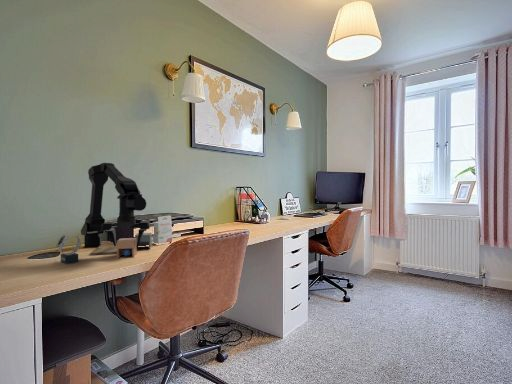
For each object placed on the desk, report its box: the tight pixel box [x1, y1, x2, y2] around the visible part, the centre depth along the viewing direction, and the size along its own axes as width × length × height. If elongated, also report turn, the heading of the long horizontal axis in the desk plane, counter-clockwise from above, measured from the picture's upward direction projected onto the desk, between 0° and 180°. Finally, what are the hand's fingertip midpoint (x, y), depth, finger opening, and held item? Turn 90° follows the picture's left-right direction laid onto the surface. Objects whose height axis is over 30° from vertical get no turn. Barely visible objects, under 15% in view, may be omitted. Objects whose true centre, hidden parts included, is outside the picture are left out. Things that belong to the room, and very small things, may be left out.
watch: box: [56, 233, 82, 265], centre depth 113 cm, size 6×8×11 cm
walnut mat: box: [89, 246, 117, 256], centre depth 131 cm, size 11×11×1 cm
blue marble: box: [123, 248, 132, 257], centre depth 124 cm, size 3×3×3 cm
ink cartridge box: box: [152, 215, 173, 244], centre depth 150 cm, size 9×5×15 cm, turn 143°
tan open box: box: [116, 237, 137, 259], centre depth 124 cm, size 7×7×7 cm
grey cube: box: [134, 232, 153, 250], centre depth 139 cm, size 7×7×7 cm
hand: (126, 245), depth 124 cm, fingers open, 9 cm apart
